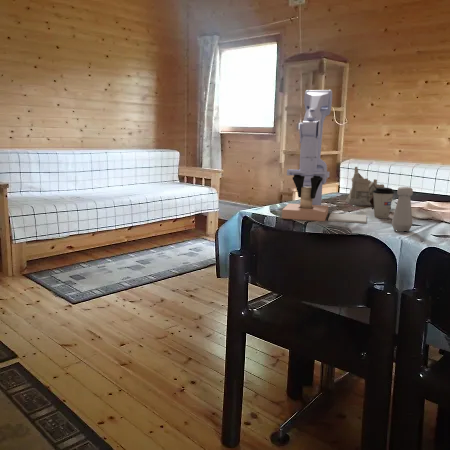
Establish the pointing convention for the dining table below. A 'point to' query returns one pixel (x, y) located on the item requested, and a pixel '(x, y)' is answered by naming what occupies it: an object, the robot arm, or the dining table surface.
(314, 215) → the square board with hole
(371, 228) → the dining table surface
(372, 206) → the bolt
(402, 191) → the salt shaker
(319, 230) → the dining table surface
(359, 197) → the ceramic cottage
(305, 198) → the plug
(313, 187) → the robot arm
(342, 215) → the mat
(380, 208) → the coffee cup
